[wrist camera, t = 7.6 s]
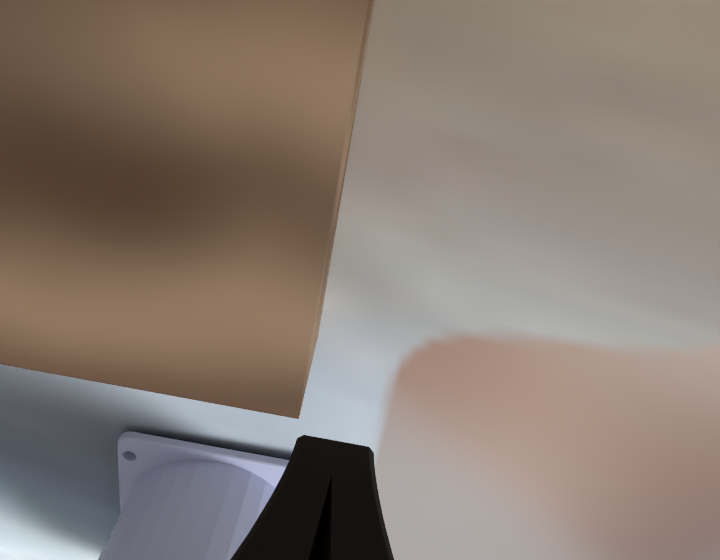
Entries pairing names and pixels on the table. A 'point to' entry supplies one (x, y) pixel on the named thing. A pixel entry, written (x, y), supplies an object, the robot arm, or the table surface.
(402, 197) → the table surface
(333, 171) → the brown block
